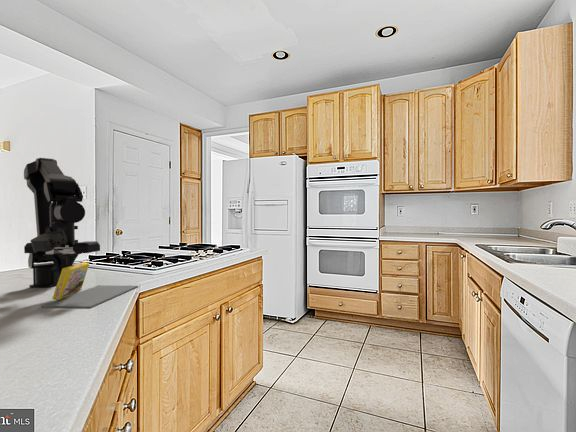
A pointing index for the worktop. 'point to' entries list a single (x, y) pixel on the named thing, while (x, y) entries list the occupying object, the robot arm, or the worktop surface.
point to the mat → (90, 297)
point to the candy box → (70, 280)
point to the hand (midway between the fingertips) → (63, 277)
